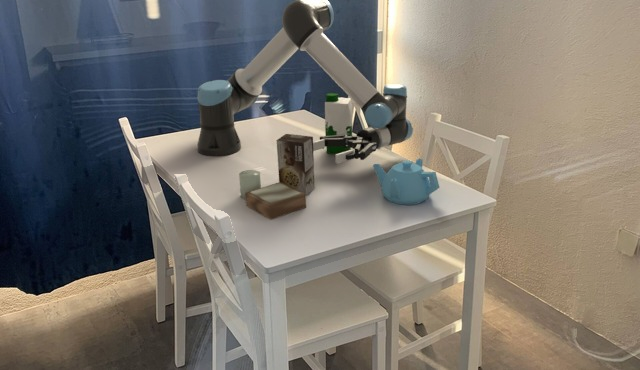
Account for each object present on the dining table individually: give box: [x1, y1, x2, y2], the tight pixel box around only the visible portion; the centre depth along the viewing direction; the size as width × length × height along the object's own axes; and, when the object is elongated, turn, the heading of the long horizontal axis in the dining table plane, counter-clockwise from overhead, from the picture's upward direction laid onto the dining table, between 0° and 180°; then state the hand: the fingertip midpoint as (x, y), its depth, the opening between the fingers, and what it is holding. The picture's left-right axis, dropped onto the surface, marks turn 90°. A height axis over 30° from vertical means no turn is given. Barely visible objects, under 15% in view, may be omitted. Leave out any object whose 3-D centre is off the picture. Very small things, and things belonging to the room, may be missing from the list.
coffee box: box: [276, 133, 315, 196], centre depth 185 cm, size 9×6×16 cm
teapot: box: [372, 158, 440, 206], centre depth 180 cm, size 15×15×11 cm
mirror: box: [245, 181, 307, 220], centre depth 176 cm, size 12×12×4 cm
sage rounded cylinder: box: [238, 169, 262, 201], centre depth 183 cm, size 6×6×7 cm
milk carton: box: [324, 92, 353, 155], centre depth 216 cm, size 9×9×20 cm
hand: (321, 153), depth 191 cm, fingers open, 13 cm apart
